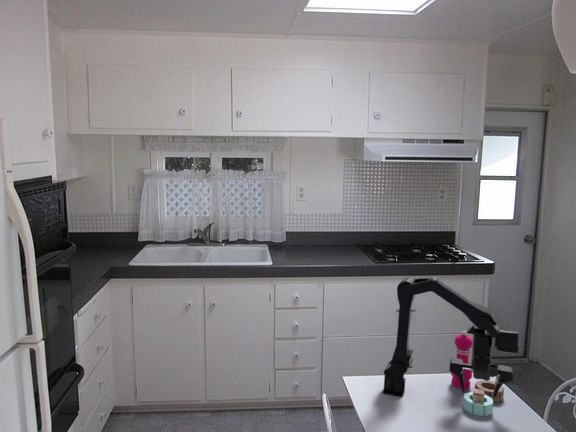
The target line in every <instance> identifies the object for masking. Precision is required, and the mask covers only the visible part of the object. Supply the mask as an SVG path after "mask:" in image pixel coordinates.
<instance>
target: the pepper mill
mask: <svg viewBox="0 0 576 432" xmlns="http://www.w3.org/2000/svg"><path fill="white" fill-rule="evenodd" d="M467 334H468V333H467V330H462V331H461V334H458V335H457V336H456V337H455V338H454V345H455V350H454V351H455V353H456V356H455V358H456V359H463V363H465V364H470V362H469V357H470V355H471V352H472V345H473V338H472V337H470V336H469V335H467ZM450 375H451V376H452V378H451V386H453V387H454V388H457V389H461V390H462V388H461V384H460V381H459V378H458V376H457V375H454V374H453V372H450ZM463 377H464V390H465V389H467V390H468V389H469V388H470V387H471V381H470V380H471V379H472V378H473V371H470V370H463Z"/></svg>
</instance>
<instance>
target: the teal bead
mask: <svg viewBox="0 0 576 432" xmlns="http://www.w3.org/2000/svg"><path fill="white" fill-rule="evenodd" d="M462 403H463V404H462V405H463V409H464V411H466V412H468V413H469V414H471V415H474V416H478V417H479V416H480V417H488V416H492V415H493V413H494V412H493V409H494V402H493V399H492V398H490V397H489V396H487V395H485V394H484V403H480V402H475V401H473V391H469V392H466V393H465V392H464V394H463V402H462Z"/></svg>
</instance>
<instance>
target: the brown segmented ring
mask: <svg viewBox="0 0 576 432" xmlns="http://www.w3.org/2000/svg"><path fill="white" fill-rule="evenodd" d="M494 386H495V381H492V380H489V381H486V380H483V379H478V381H476V382H475V383H474V389H480V390H484V394H485V395H487V396H489V397H490V398H492V399H493V403H499V402H502V401H503V400H504V392H505V388H504V387H503V385H502V386H501V387H500V389H499V391H498V393H497V395H496V397H495V398H493V391H494Z"/></svg>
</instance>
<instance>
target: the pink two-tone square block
mask: <svg viewBox="0 0 576 432" xmlns="http://www.w3.org/2000/svg"><path fill="white" fill-rule="evenodd" d="M472 393H473V401H475V402H480V403H484V390H480V389H475V387H474V388H473V389H472Z"/></svg>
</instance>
